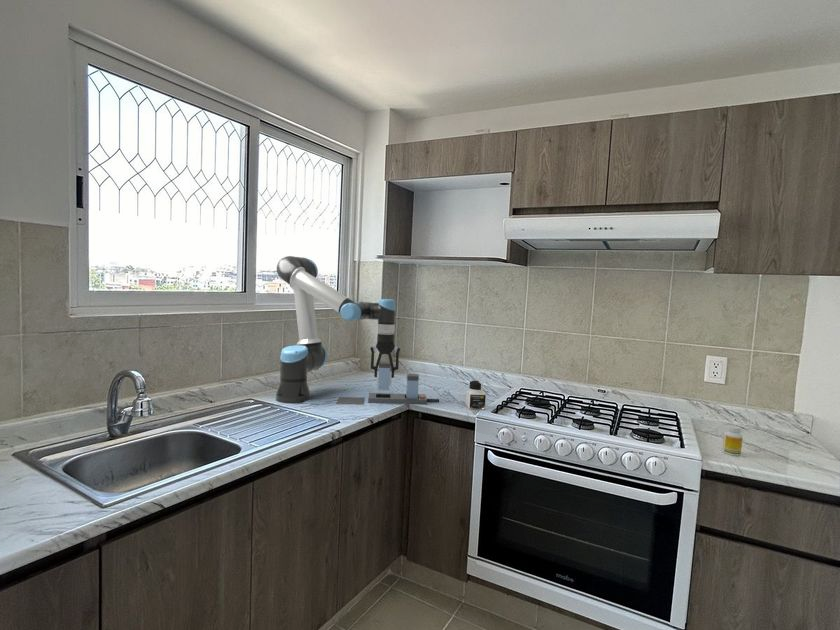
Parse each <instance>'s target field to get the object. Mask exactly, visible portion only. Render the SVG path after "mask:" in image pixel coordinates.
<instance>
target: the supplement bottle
mask: <svg viewBox="0 0 840 630" xmlns="http://www.w3.org/2000/svg"><path fill="white" fill-rule="evenodd" d="M741 432H742V427H740V426H737V425H731V424H729V425H727V426H726V431H724V432H723V441H722V452H723V453H724V454H726V455H729V456H733V457H734V456H735V457H739V456H741V455H742V454H741V453H742V447H743V446H742V445H743V438H744V437H743V434H742V433H741Z"/></svg>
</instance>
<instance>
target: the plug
mask: <svg viewBox="0 0 840 630" xmlns="http://www.w3.org/2000/svg"><path fill="white" fill-rule="evenodd" d="M378 370H379V379H378V385H377V390H378V391H390V370H391V365H390V361H381V360H380V362H379V366H378Z"/></svg>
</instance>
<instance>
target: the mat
mask: <svg viewBox="0 0 840 630" xmlns="http://www.w3.org/2000/svg"><path fill="white" fill-rule="evenodd" d="M365 398H366V397H355V396H350V397H349V396H338V398H337V400H336V402H335V405H357V406H358V405H359V406H361V405H364V403H365V400H366V399H365Z"/></svg>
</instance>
